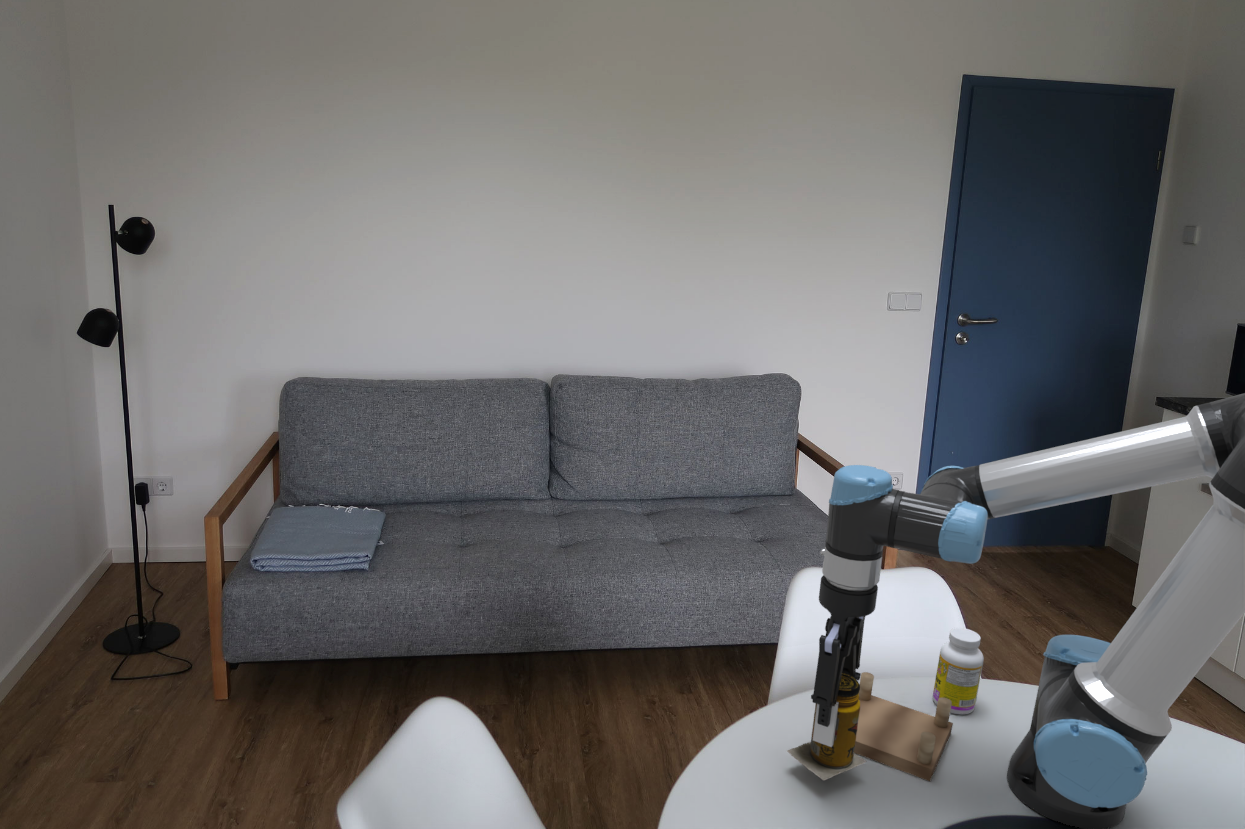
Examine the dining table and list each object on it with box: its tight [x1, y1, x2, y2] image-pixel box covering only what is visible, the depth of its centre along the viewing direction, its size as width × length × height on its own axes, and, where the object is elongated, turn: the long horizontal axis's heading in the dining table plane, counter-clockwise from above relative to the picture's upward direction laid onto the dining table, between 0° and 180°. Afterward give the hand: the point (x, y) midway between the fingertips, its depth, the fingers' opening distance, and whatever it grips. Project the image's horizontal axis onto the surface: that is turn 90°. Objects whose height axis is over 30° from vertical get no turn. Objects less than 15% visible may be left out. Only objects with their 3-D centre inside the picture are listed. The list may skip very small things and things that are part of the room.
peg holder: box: [854, 671, 954, 782], centre depth 135 cm, size 15×14×6 cm
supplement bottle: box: [932, 627, 985, 715], centre depth 145 cm, size 7×7×13 cm
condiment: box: [786, 673, 867, 781], centre depth 124 cm, size 7×8×12 cm
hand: (830, 730), depth 125 cm, fingers closed on condiment, 6 cm apart
